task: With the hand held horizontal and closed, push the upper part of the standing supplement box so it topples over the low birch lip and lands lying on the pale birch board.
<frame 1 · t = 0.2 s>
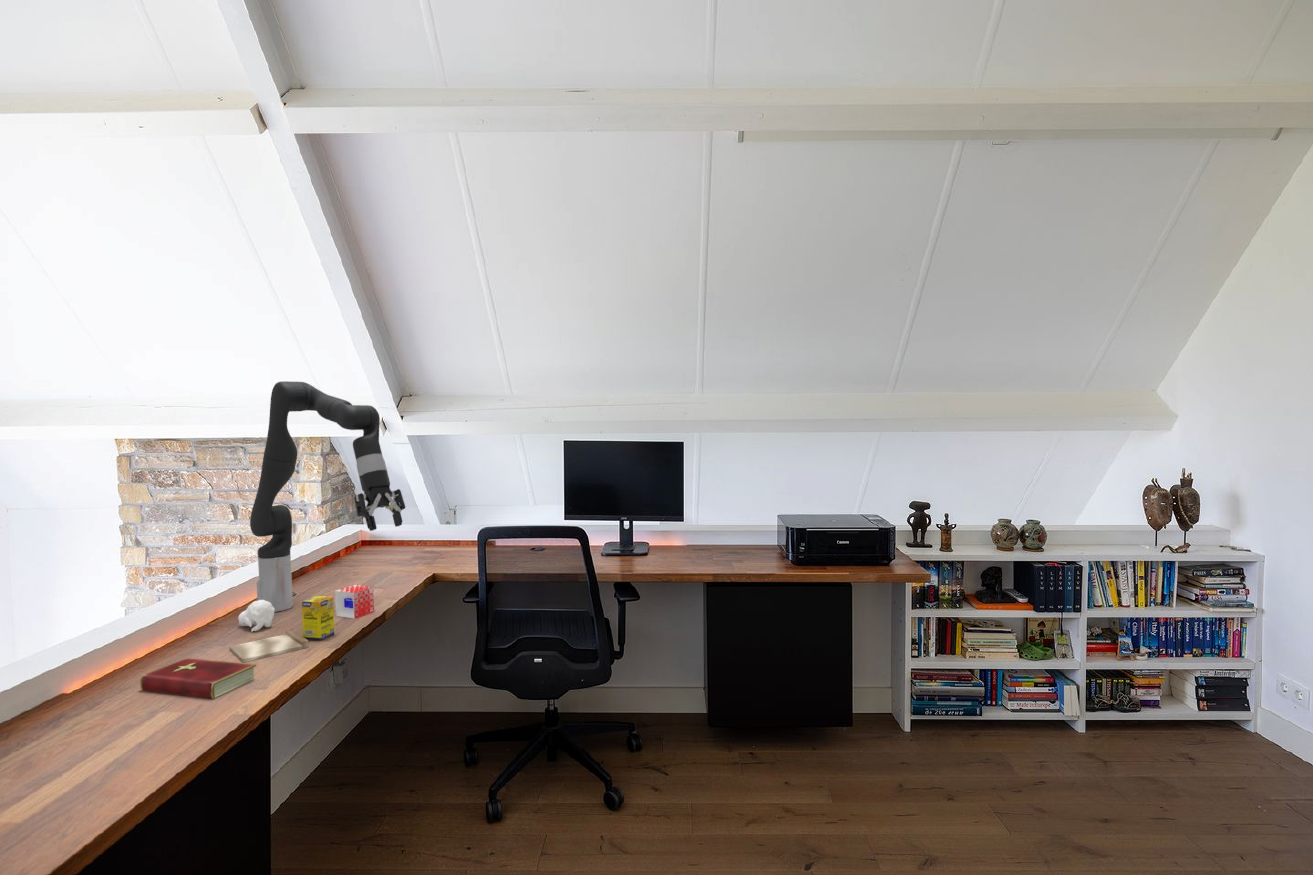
hand: (386, 527, 198), 31 cm above the table, tool tilted 20°, fingers open, 8 cm apart
supplement box: (319, 637, 200), on the table
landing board: (265, 648, 190), on the table
white figurine: (254, 628, 209), on the table
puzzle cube: (355, 614, 222), on the table
hardcover book: (199, 687, 167), on the table
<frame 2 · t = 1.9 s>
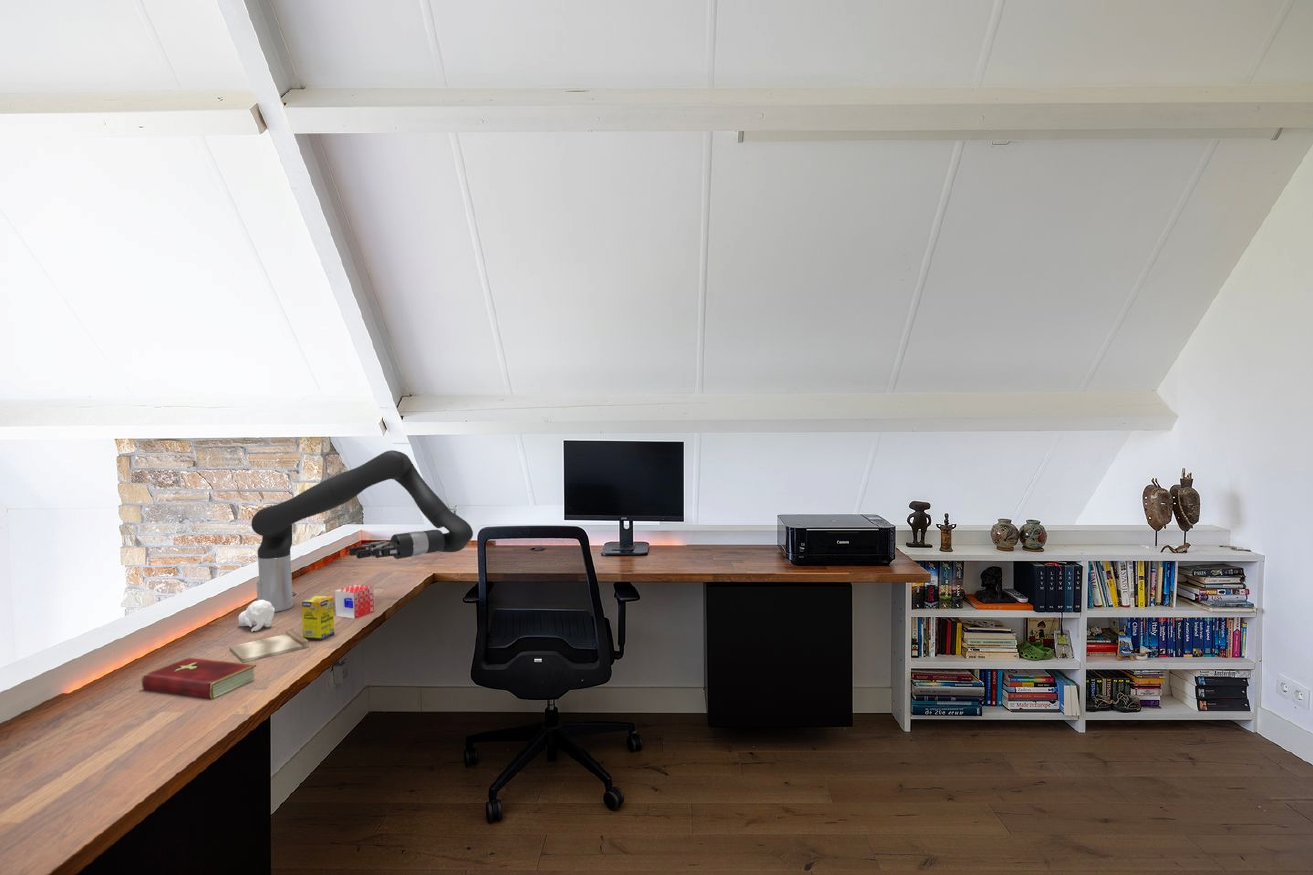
hand: (353, 553, 206), 22 cm above the table, tool horizontal, fingers open, 5 cm apart
nothing on the table moved.
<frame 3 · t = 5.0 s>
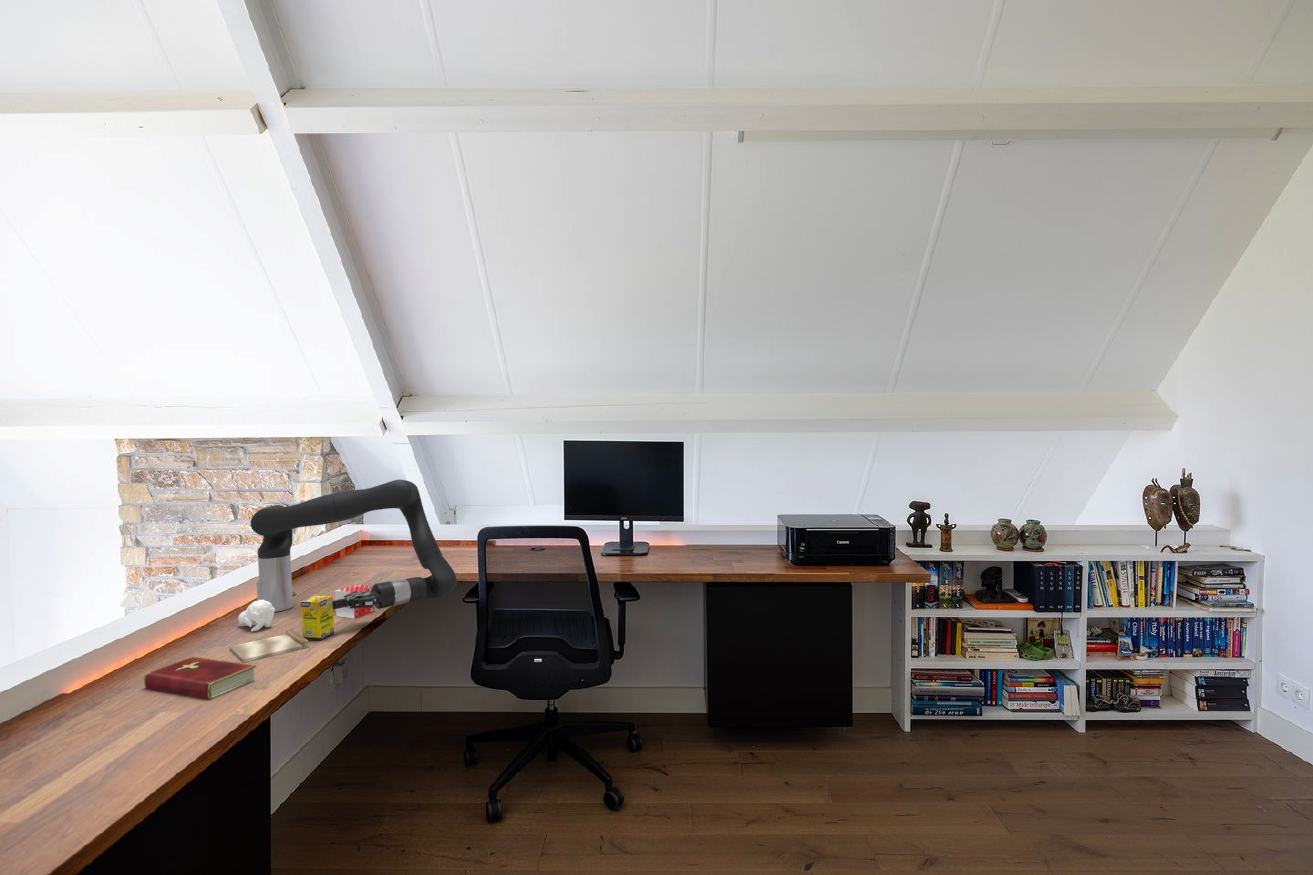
hand: (331, 605, 202), 8 cm above the table, tool horizontal, fingers closed
supplement box: (319, 637, 200), on the table, touching gripper
everything else where it was.
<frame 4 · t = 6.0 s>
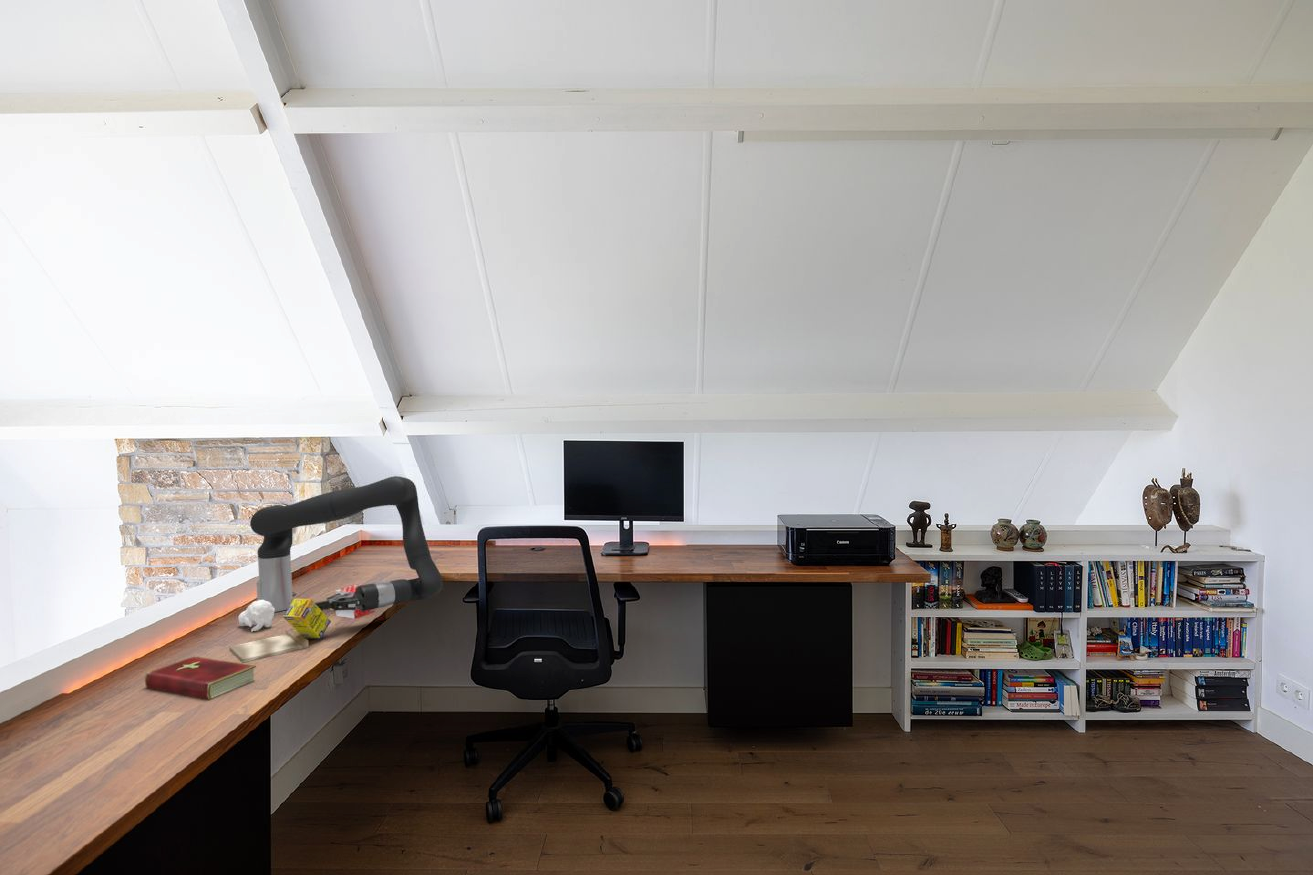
hand: (313, 607, 198), 9 cm above the table, tool horizontal, fingers closed
supplement box: (318, 630, 199), point 2 cm above the table, touching gripper, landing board
everything else where it was.
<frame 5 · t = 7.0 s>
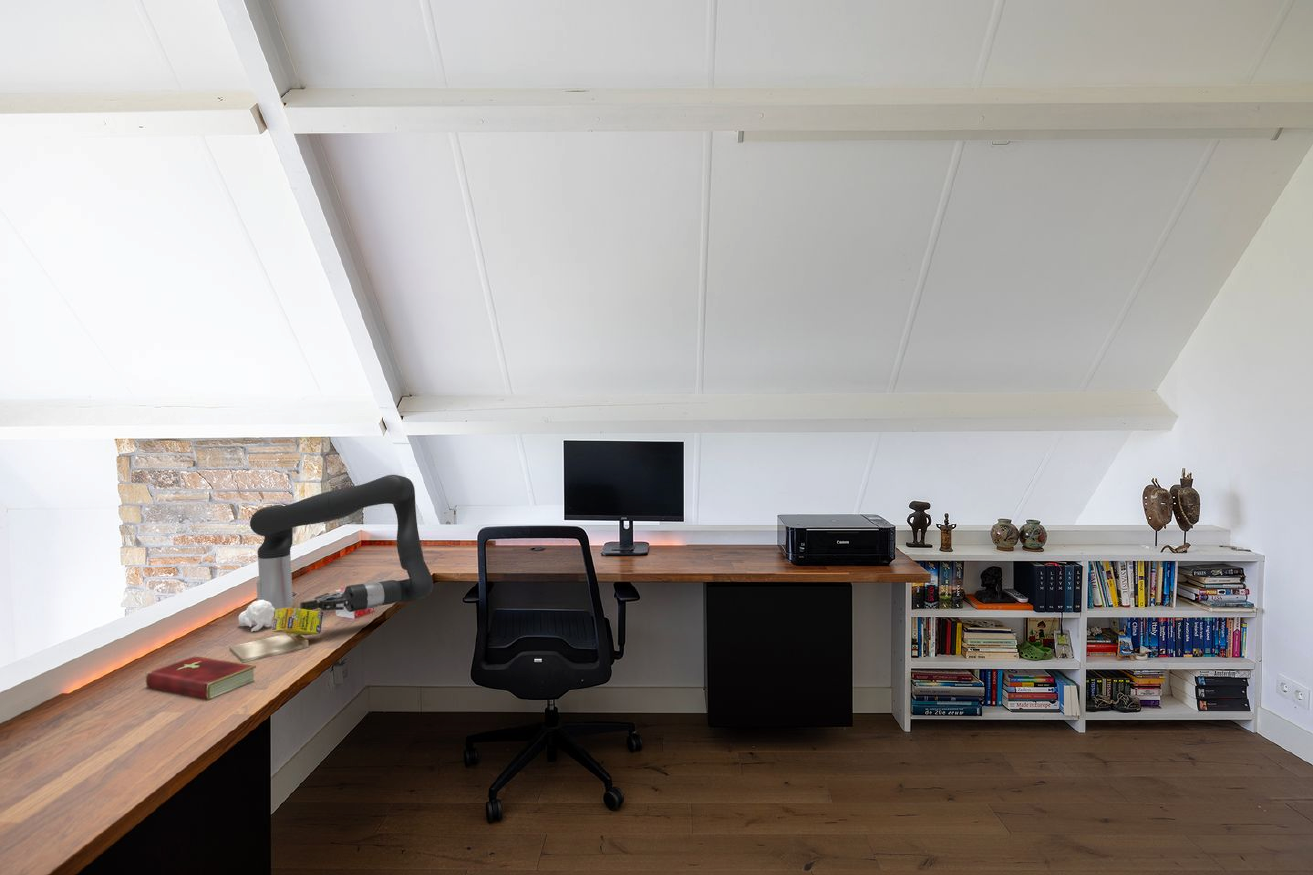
hand: (301, 606, 196), 10 cm above the table, tool horizontal, fingers closed
supplement box: (315, 623, 198), point 4 cm above the table, touching gripper, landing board
everything else where it was.
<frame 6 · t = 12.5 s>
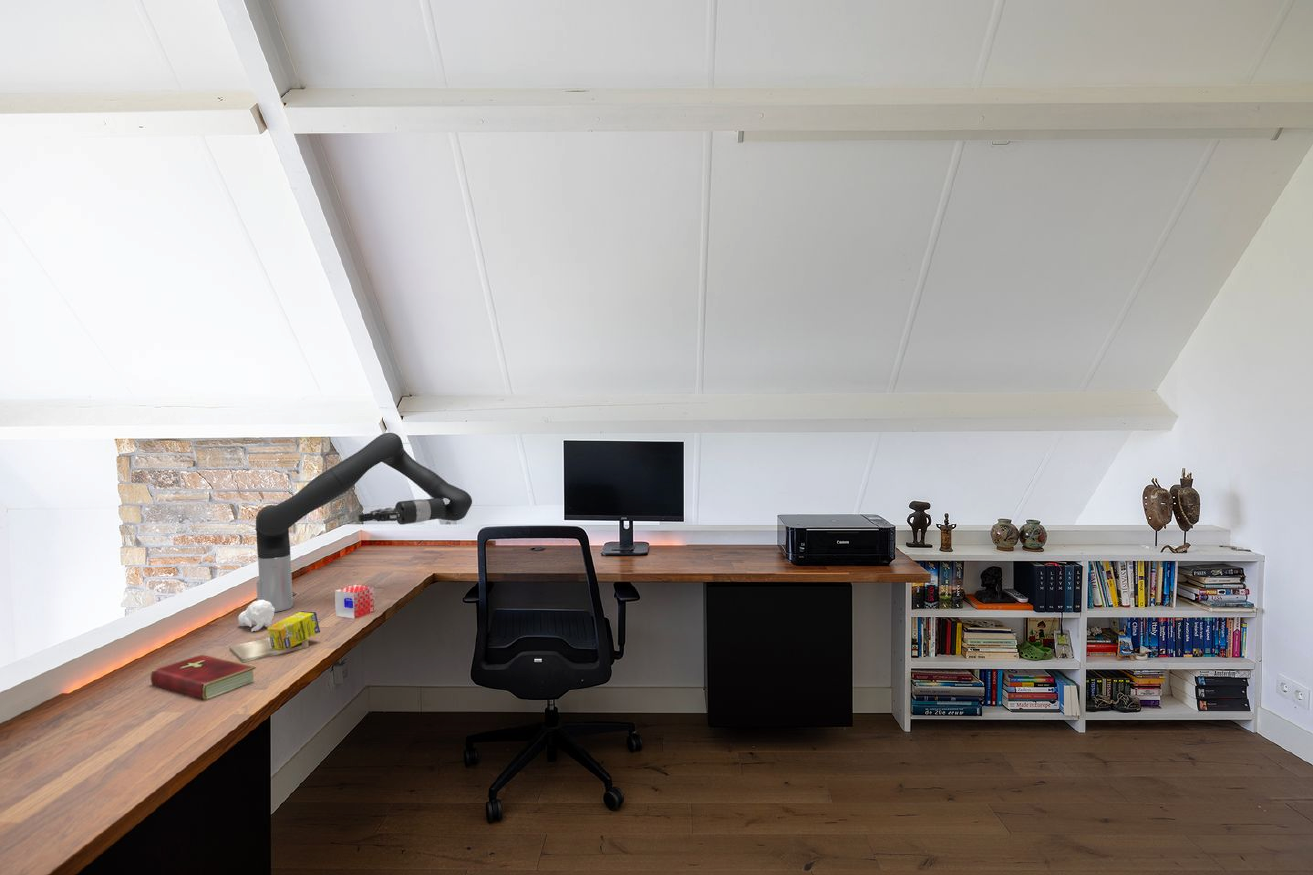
hand: (359, 518, 220), 30 cm above the table, tool horizontal, fingers closed
supplement box: (312, 620, 196), point 6 cm above the table, touching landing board
at the end: supplement box tilted 99°; supplement box 11.5 cm from the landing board (horizontally) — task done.
